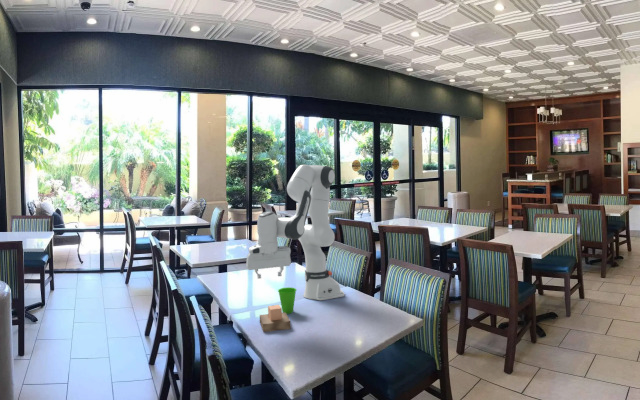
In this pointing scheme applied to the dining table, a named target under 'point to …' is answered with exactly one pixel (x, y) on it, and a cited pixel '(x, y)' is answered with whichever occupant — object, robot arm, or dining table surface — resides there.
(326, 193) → the robot arm
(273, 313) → the cube
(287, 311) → the cup
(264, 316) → the base slab
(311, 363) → the dining table surface
